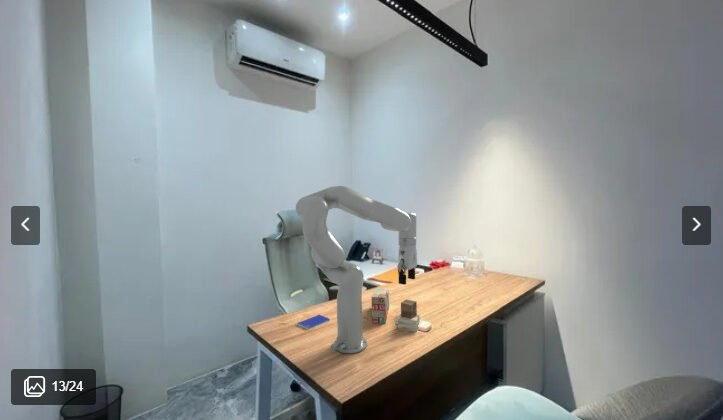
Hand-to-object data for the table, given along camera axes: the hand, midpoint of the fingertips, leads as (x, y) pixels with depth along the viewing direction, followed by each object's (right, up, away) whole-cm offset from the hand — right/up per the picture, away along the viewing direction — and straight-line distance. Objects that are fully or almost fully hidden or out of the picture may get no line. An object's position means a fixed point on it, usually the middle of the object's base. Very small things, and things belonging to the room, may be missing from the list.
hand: (407, 281), depth 128 cm
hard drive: (-41, -21, +8) cm, 47 cm away
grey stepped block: (+1, -20, +1) cm, 20 cm away
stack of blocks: (-10, -20, +16) cm, 27 cm away
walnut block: (+1, -15, +1) cm, 15 cm away
